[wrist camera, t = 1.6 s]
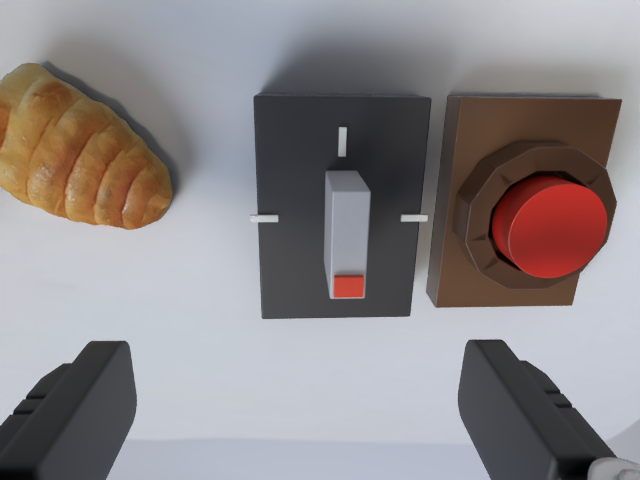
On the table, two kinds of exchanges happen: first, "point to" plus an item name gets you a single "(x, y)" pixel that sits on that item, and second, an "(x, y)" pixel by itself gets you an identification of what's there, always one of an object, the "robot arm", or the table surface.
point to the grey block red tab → (346, 234)
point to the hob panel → (309, 197)
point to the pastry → (76, 154)
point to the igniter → (498, 178)
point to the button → (549, 225)
